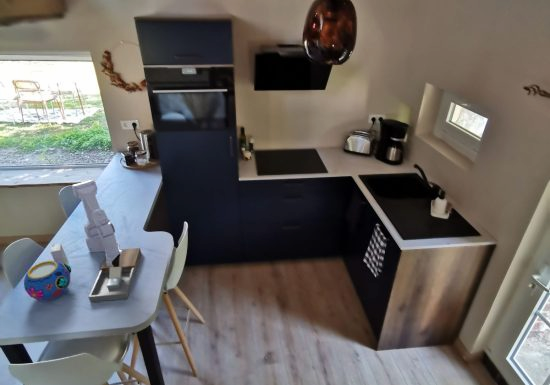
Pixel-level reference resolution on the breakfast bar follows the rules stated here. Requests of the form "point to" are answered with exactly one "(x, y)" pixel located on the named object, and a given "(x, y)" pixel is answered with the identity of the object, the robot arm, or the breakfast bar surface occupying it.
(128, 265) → the tan wooden board
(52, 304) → the breakfast bar surface
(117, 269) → the cream tile
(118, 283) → the blue grey tile
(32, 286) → the ceramic pot
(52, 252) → the skincare box
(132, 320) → the breakfast bar surface
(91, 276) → the breakfast bar surface
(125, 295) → the bin
